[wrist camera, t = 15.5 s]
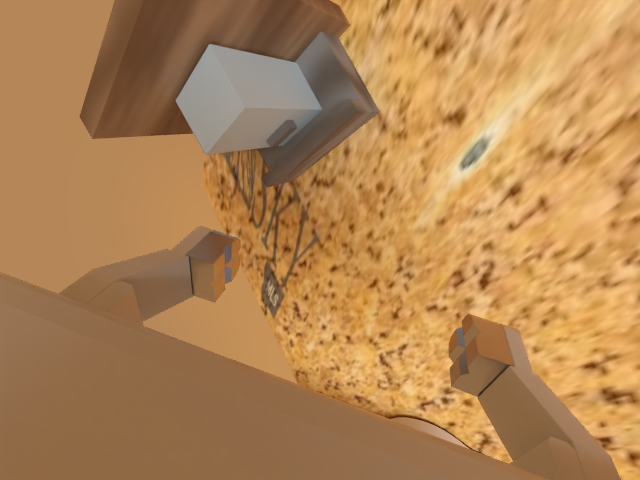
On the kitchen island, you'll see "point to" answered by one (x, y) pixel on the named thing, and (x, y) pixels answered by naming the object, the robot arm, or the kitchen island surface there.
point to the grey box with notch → (245, 101)
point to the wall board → (231, 32)
